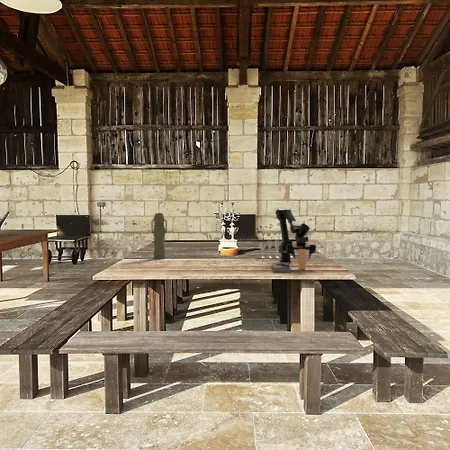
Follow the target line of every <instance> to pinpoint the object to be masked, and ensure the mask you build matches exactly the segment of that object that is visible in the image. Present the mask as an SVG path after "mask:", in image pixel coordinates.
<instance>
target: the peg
mask: <svg viewBox="0 0 450 450" xmlns="http://www.w3.org/2000/svg"><path fill="white" fill-rule="evenodd" d="M306 251H307V250H305V249H299V250H298V256H297V257H298V258H297V259H298V262H297V263H298V265H297V266H298V270H299V269H304V271H305V270H306V258H307V257H306V256H307V255H306Z"/></svg>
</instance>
